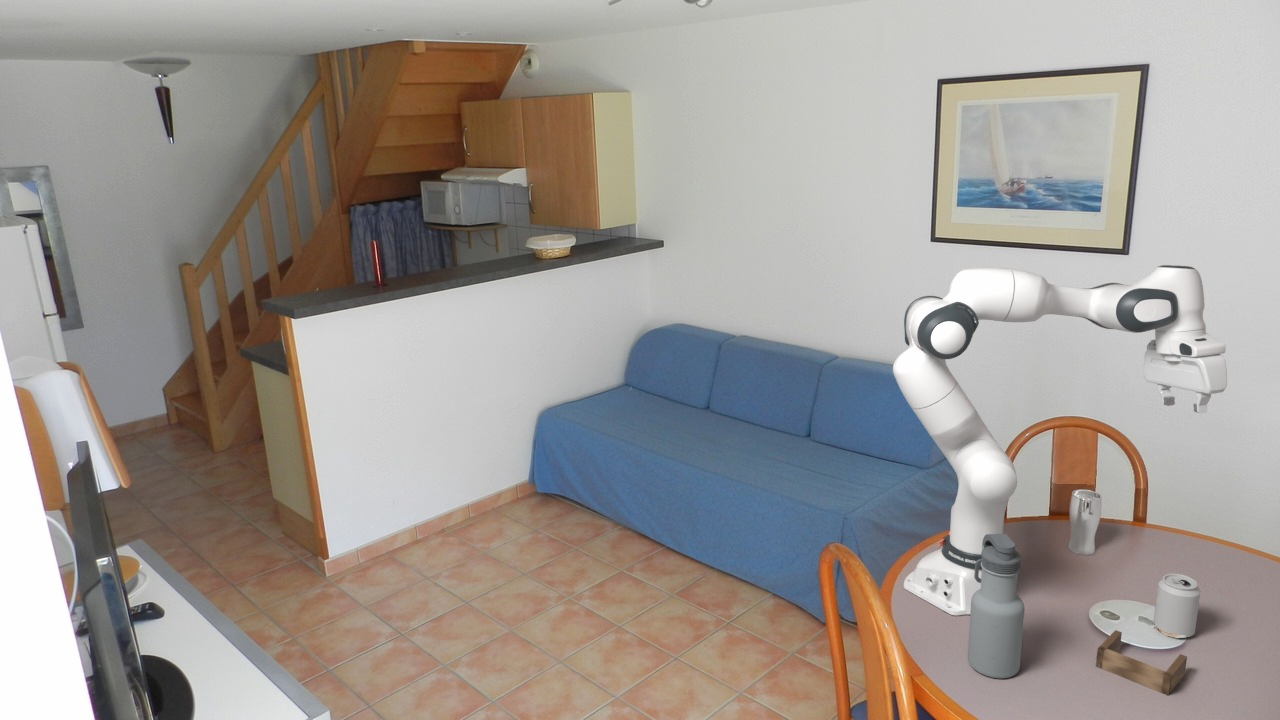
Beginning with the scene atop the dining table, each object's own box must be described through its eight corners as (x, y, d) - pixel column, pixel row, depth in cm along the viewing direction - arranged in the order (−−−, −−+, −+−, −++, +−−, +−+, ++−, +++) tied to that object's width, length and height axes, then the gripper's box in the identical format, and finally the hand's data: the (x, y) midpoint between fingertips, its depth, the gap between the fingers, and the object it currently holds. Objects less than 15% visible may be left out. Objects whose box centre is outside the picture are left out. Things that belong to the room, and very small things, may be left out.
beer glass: (1098, 546, 216) (1103, 491, 212) (1095, 558, 211) (1101, 502, 207) (1067, 540, 220) (1072, 486, 216) (1064, 552, 214) (1069, 497, 210)
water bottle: (960, 650, 178) (967, 527, 170) (1007, 649, 177) (1016, 526, 170) (977, 681, 168) (985, 552, 160) (1027, 679, 167) (1038, 550, 160)
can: (1200, 642, 176) (1208, 590, 173) (1160, 639, 178) (1167, 588, 175) (1186, 622, 183) (1192, 572, 180) (1147, 619, 185) (1153, 570, 182)
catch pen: (1095, 666, 170) (1097, 648, 169) (1113, 647, 176) (1115, 630, 175) (1168, 695, 161) (1170, 677, 160) (1184, 674, 167) (1187, 656, 166)
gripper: (1133, 340, 186) (1137, 402, 187) (1201, 349, 165) (1204, 419, 167) (1161, 336, 186) (1164, 399, 188) (1232, 345, 166) (1235, 414, 167)
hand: (1184, 408), depth 177 cm, fingers open, 8 cm apart
